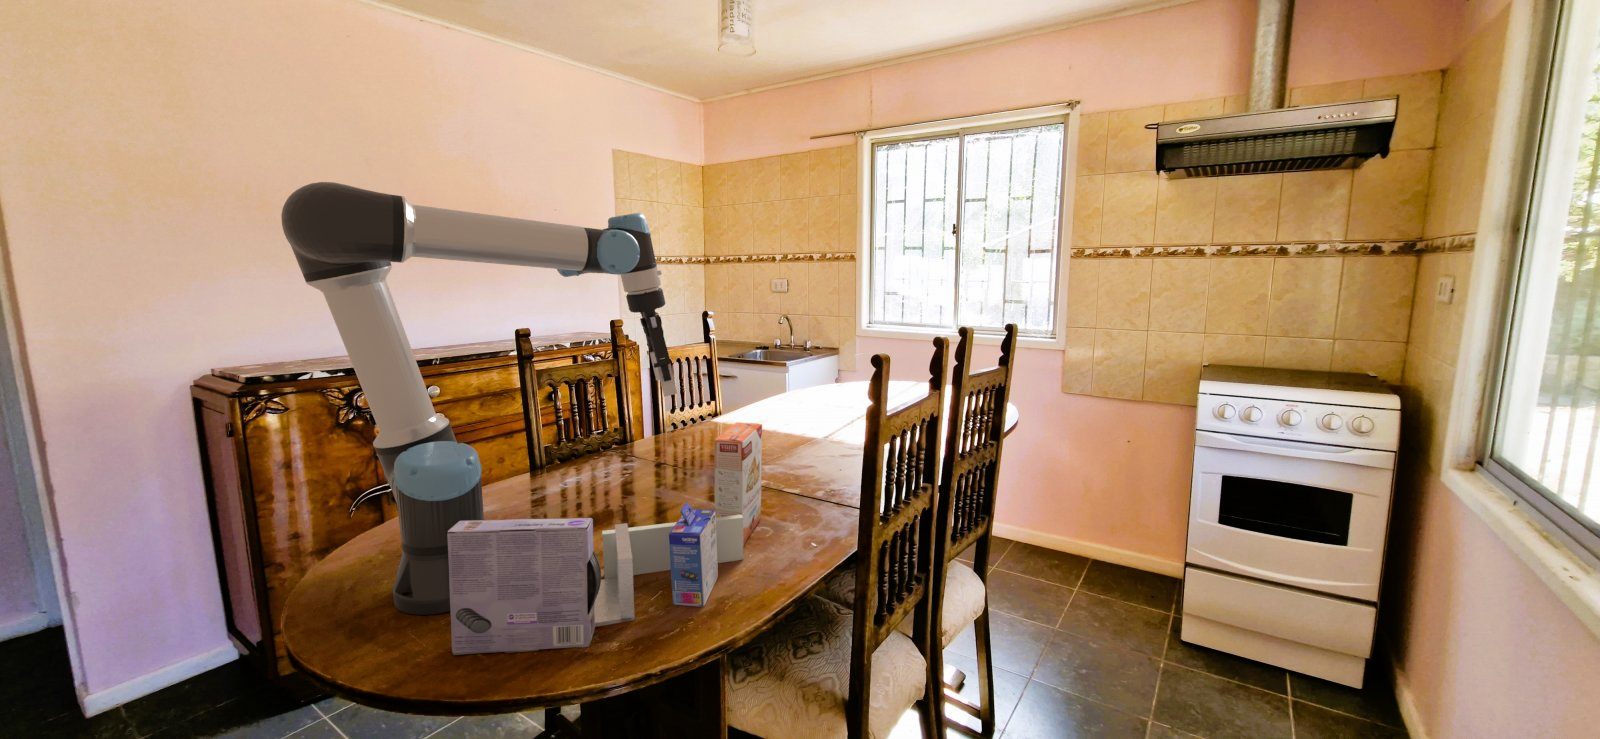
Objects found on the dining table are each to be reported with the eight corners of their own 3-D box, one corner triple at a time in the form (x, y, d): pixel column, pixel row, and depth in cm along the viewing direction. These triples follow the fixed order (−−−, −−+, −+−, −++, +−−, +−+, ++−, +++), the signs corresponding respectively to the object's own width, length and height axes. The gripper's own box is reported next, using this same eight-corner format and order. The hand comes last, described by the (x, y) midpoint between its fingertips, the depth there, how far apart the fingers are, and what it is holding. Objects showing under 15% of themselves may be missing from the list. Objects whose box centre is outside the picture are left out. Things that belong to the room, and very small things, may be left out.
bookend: (577, 629, 91) (574, 565, 89) (579, 586, 103) (576, 529, 101) (634, 620, 93) (632, 557, 92) (629, 579, 106) (627, 523, 104)
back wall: (604, 579, 105) (602, 534, 104) (604, 575, 107) (602, 530, 106) (743, 559, 113) (743, 517, 112) (741, 555, 114) (741, 514, 113)
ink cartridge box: (687, 575, 107) (685, 494, 105) (718, 576, 107) (717, 496, 104) (669, 605, 98) (667, 517, 95) (704, 608, 97) (702, 519, 95)
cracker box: (744, 549, 117) (743, 441, 114) (713, 545, 118) (712, 439, 115) (763, 519, 131) (763, 422, 127) (735, 517, 132) (734, 420, 128)
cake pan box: (604, 627, 92) (599, 513, 89) (597, 648, 87) (592, 527, 84) (465, 636, 89) (455, 519, 86) (450, 658, 84) (439, 534, 81)
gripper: (669, 293, 119) (692, 397, 125) (654, 280, 142) (674, 369, 148) (630, 301, 117) (655, 407, 123) (621, 287, 140) (643, 376, 146)
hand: (666, 386), depth 135 cm, fingers open, 13 cm apart
